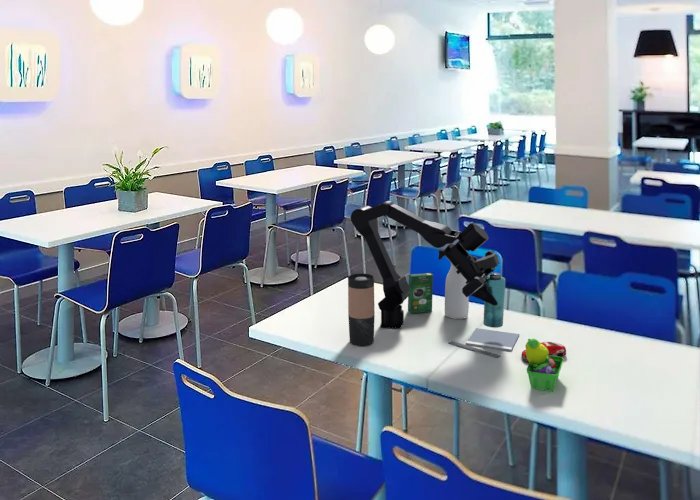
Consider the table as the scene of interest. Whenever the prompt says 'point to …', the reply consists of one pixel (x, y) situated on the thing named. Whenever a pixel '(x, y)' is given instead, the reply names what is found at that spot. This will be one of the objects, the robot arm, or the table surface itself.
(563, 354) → the race car
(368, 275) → the travel mug
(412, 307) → the coffee box
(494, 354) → the line
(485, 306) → the bottle
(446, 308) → the milk bottle
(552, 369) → the fruit basket
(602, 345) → the table surface
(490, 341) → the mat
